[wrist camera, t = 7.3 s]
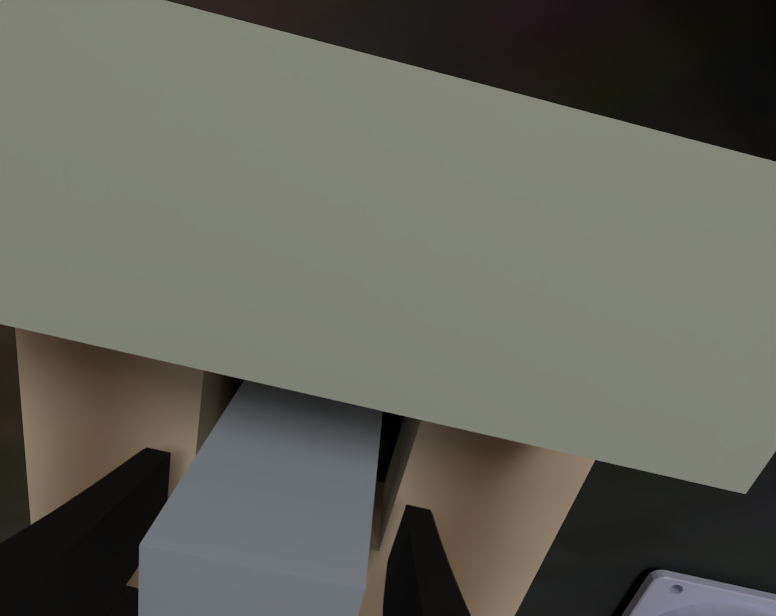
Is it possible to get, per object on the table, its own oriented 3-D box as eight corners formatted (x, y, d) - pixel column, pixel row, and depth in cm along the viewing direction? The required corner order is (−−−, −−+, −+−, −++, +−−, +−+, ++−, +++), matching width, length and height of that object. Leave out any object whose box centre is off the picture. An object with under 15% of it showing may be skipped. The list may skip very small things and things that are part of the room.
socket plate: (623, 265, 14) (676, 302, 11) (479, 581, 19) (491, 660, 16) (86, 132, 13) (-1, 136, 10) (91, 499, 18) (34, 566, 16)
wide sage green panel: (635, 154, 13) (946, 207, 5) (573, 300, 14) (745, 493, 7) (123, 21, 12) (-330, -131, 5) (121, 189, 14) (-217, 274, 6)
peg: (387, 365, 16) (365, 588, 8) (364, 458, 17) (328, 717, 10) (269, 340, 15) (139, 545, 8) (256, 436, 17) (137, 682, 10)
